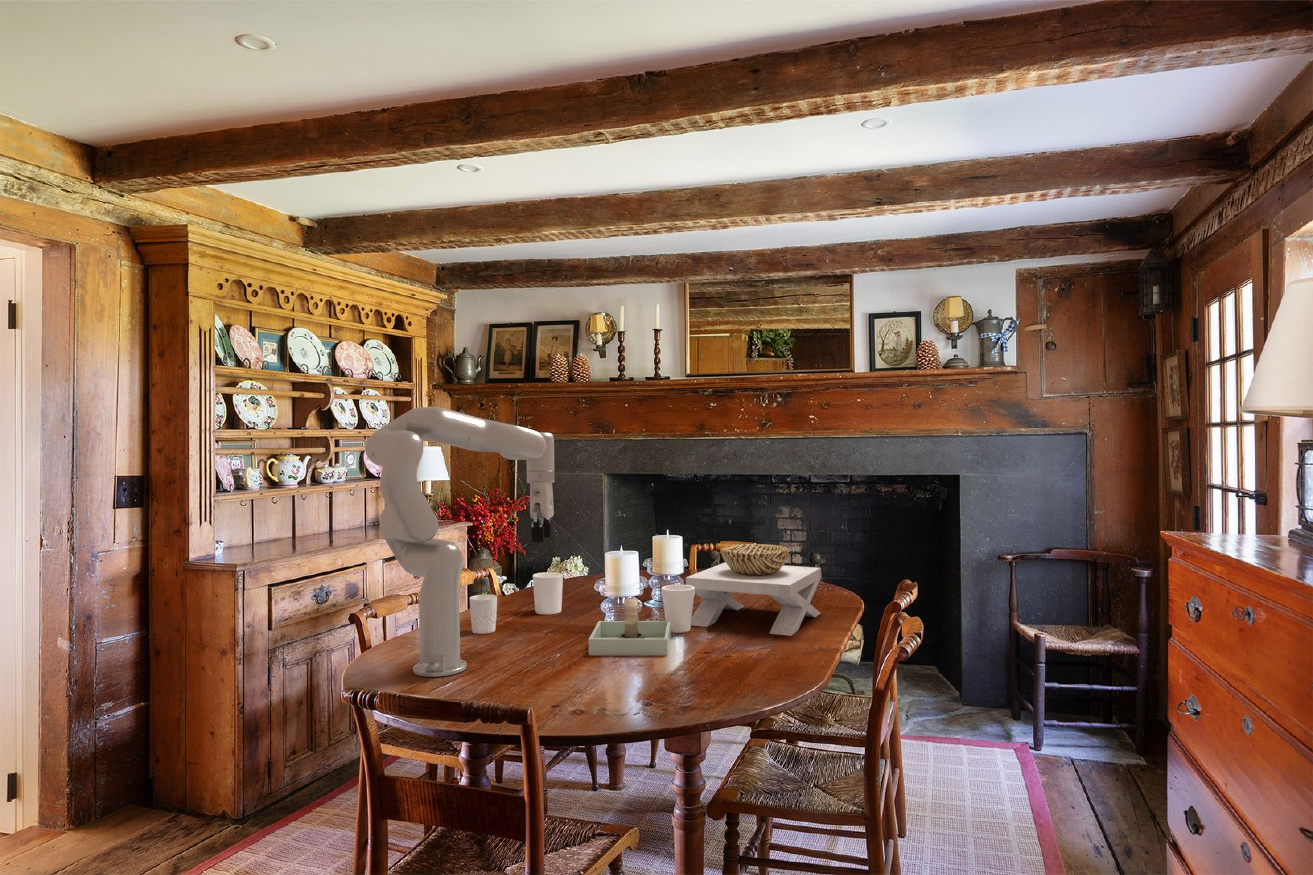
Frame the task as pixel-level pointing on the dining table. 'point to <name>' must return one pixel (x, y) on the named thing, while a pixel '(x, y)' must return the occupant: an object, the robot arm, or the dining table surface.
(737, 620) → the dining table surface
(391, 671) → the dining table surface
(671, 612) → the foam cup
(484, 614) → the white cup
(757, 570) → the grey stool with basket
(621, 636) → the wick clip
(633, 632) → the wick peg
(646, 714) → the dining table surface
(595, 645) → the pale green rectangular tray
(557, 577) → the candle holder
